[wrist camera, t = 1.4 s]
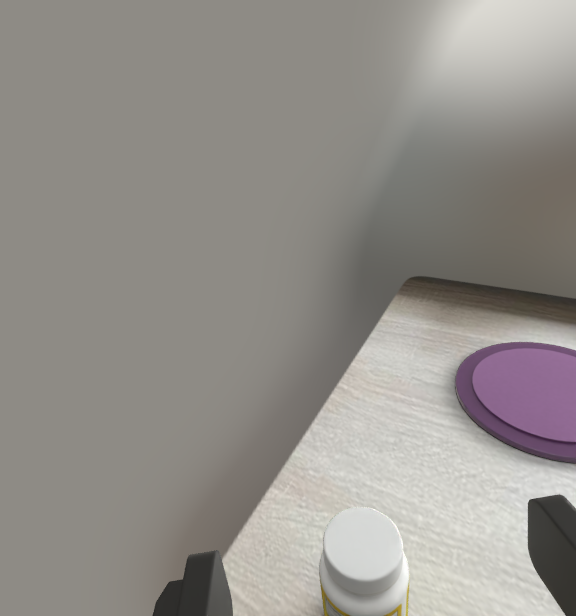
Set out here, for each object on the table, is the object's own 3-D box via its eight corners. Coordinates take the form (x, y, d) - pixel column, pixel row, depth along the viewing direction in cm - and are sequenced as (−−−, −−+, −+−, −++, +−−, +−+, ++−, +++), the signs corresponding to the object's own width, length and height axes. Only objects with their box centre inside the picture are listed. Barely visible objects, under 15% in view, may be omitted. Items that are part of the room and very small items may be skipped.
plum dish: (459, 449, 38) (460, 442, 37) (451, 341, 51) (452, 335, 51) (690, 478, 33) (694, 470, 33) (616, 352, 47) (618, 345, 46)
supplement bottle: (354, 570, 30) (349, 484, 26) (421, 617, 27) (428, 529, 23) (309, 635, 27) (296, 549, 23) (379, 696, 24) (380, 611, 20)
